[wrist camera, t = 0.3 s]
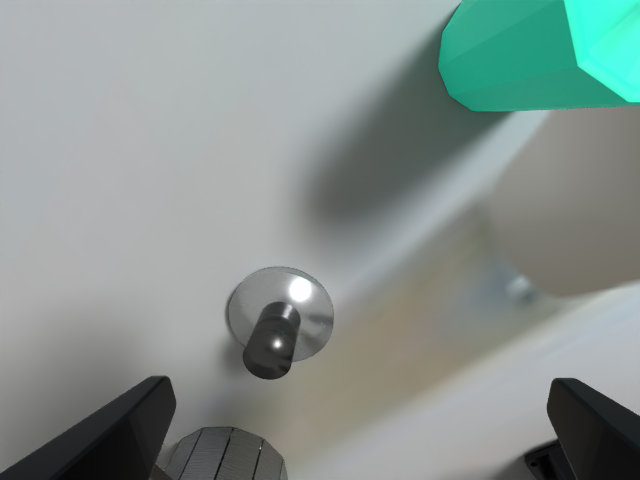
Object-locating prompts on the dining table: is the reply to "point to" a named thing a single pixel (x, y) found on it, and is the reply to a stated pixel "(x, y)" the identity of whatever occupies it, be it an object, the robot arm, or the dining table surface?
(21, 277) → the dining table surface
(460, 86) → the candle
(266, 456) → the pot
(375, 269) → the dining table surface
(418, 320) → the dining table surface
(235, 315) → the lid
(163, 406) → the robot arm
